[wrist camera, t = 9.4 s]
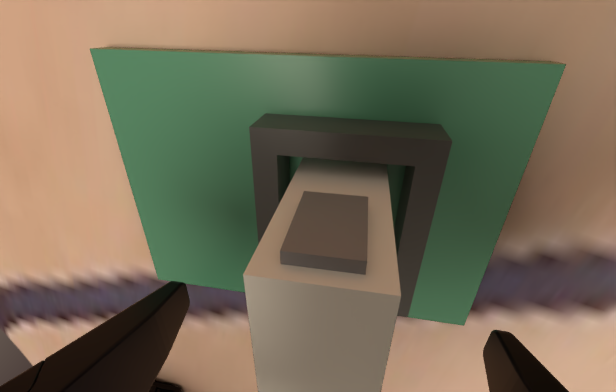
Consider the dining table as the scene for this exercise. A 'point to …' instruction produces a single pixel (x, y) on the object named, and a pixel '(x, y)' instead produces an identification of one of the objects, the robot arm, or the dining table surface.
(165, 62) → the circuit board
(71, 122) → the dining table surface
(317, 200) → the light grey upright block
